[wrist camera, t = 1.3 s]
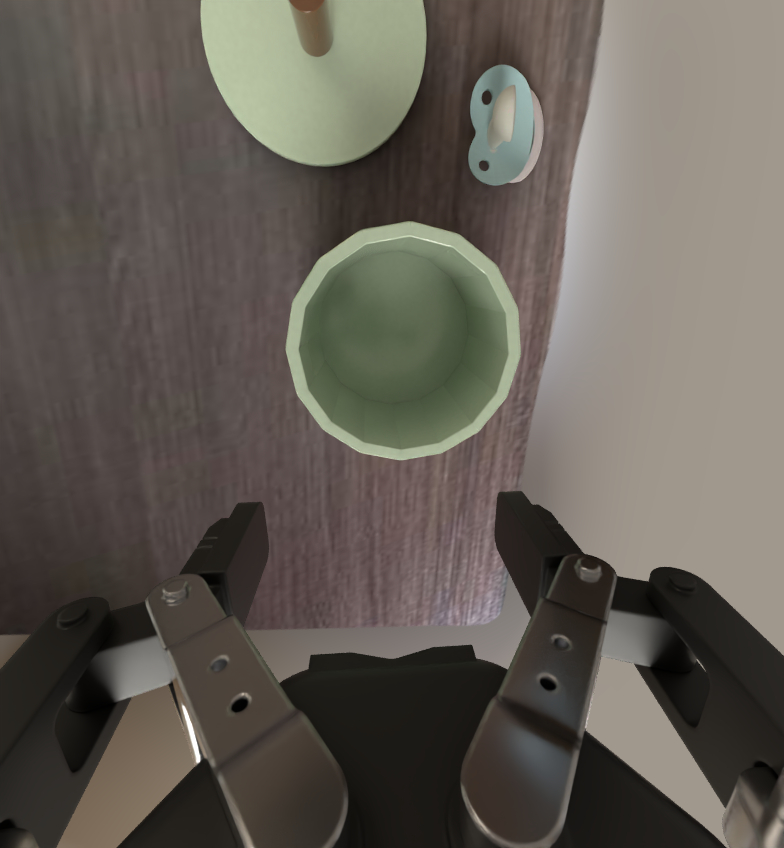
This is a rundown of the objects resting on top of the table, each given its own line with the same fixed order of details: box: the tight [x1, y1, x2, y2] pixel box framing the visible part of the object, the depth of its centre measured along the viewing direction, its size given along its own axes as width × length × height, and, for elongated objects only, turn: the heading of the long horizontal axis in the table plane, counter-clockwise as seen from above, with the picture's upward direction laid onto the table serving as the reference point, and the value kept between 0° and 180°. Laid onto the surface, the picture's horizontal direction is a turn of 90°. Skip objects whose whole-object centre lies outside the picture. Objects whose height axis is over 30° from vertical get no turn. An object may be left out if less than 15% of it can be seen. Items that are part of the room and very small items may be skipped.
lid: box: [201, 0, 427, 167], centre depth 26 cm, size 15×15×6 cm
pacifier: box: [468, 65, 543, 185], centre depth 29 cm, size 7×6×6 cm
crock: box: [285, 221, 521, 460], centre depth 31 cm, size 14×14×12 cm
